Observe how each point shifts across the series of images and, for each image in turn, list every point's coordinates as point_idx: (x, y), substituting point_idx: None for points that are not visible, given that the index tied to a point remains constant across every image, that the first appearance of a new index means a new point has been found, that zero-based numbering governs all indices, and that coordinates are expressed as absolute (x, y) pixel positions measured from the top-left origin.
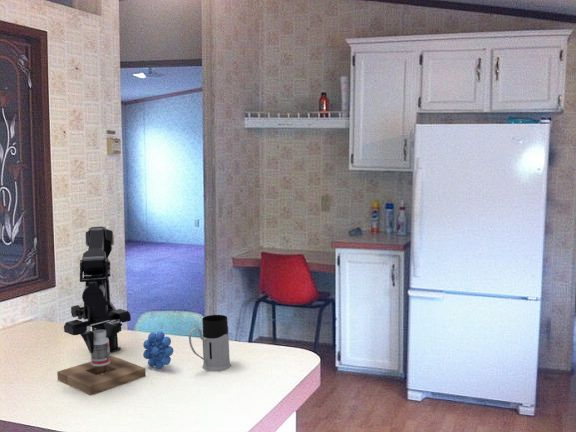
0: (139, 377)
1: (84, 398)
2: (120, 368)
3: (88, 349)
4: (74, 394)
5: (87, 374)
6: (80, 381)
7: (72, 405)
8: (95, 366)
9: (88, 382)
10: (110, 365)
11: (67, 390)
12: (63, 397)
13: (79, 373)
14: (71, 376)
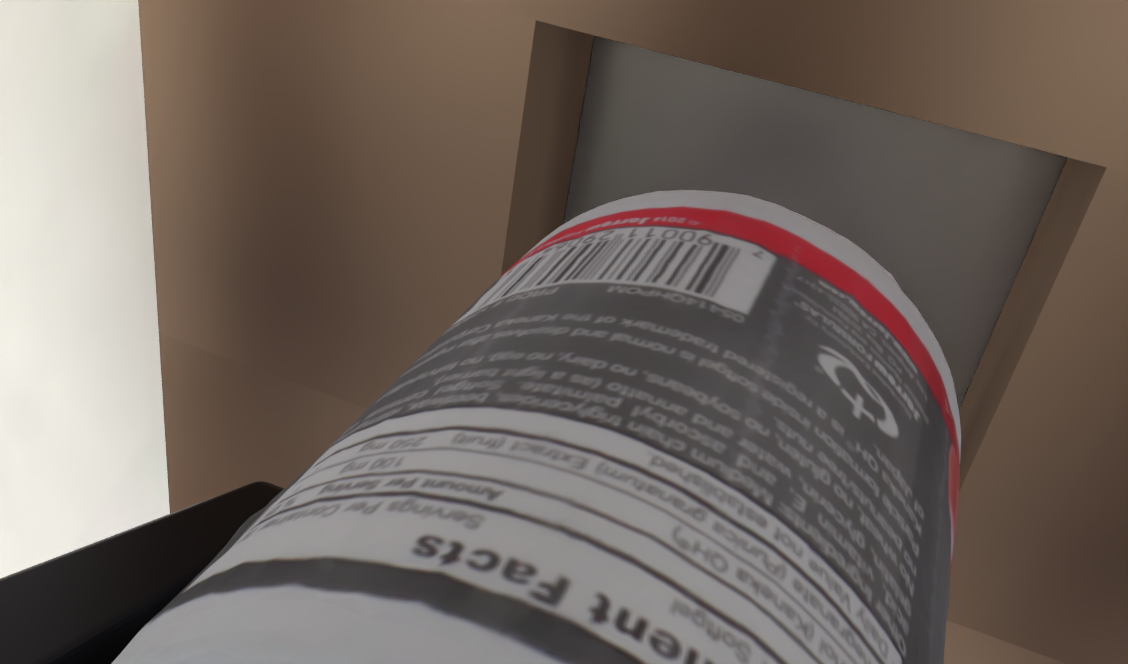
0: None
1: (168, 492)
2: (970, 644)
3: (161, 525)
4: (144, 305)
5: (414, 242)
6: (174, 352)
7: (13, 484)
8: (860, 39)
9: (230, 487)
10: (1073, 352)
11: (141, 105)
12: (18, 242)
13: (358, 39)
14: (177, 22)
